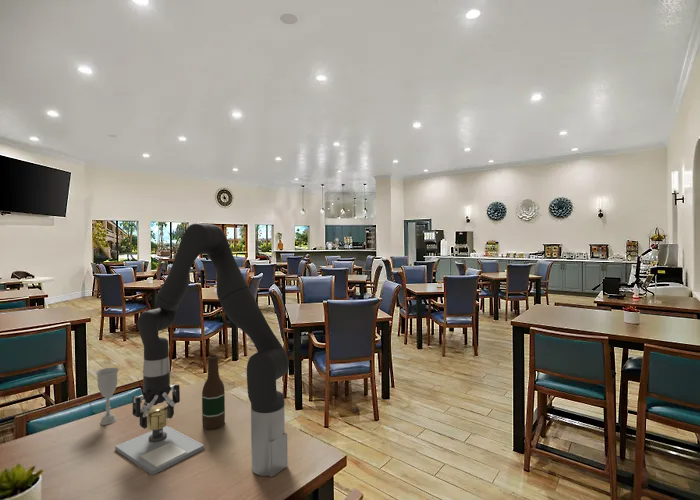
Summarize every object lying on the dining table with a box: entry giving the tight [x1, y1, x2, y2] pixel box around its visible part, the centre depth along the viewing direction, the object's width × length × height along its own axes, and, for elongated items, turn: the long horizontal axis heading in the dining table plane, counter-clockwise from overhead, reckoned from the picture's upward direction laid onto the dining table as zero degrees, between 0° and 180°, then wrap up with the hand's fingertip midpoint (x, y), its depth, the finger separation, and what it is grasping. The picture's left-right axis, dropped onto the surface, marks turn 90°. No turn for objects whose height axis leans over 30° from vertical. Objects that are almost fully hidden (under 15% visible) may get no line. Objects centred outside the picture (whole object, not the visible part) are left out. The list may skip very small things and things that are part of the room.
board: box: [114, 424, 205, 476], centre depth 116 cm, size 22×16×9 cm
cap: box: [146, 405, 169, 431], centre depth 120 cm, size 7×6×5 cm
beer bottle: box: [201, 354, 226, 431], centre depth 131 cm, size 8×8×24 cm
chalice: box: [95, 367, 119, 426], centre depth 134 cm, size 7×7×18 cm
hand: (157, 422), depth 120 cm, fingers open, 7 cm apart
